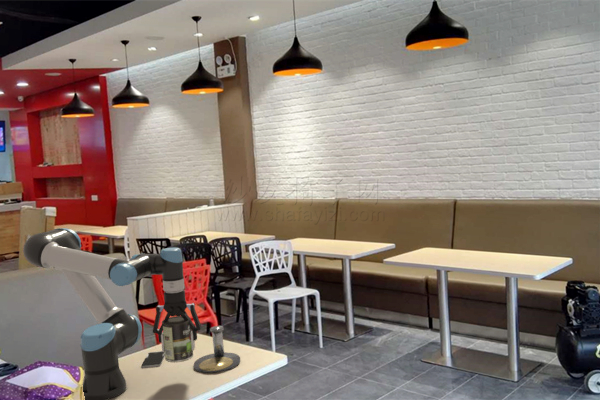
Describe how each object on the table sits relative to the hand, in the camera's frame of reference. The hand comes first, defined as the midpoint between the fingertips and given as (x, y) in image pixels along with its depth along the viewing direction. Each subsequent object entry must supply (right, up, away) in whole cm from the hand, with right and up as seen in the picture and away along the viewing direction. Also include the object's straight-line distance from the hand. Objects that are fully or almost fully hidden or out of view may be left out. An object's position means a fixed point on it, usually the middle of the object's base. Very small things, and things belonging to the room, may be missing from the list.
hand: (178, 349), depth 202 cm
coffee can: (0, -3, 0) cm, 3 cm away
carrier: (+12, -9, +13) cm, 20 cm away
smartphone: (-15, -11, +23) cm, 29 cm away
